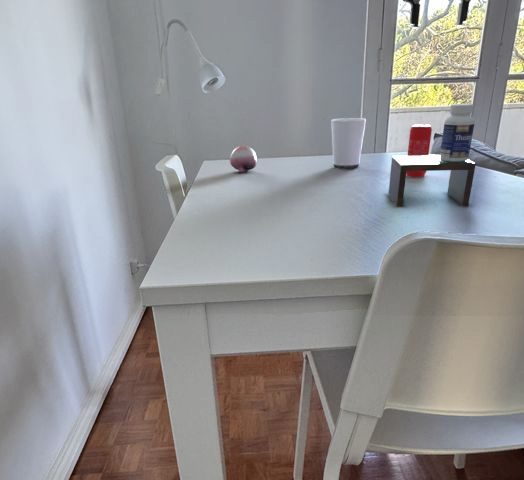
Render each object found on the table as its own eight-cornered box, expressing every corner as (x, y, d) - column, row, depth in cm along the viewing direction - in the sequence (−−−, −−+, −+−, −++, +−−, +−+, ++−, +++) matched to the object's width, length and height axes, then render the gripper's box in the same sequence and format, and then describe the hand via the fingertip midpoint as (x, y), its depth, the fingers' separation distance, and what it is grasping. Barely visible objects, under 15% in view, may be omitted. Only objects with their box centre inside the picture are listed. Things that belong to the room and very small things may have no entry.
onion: (260, 169, 141) (259, 143, 137) (253, 174, 134) (252, 147, 131) (234, 169, 142) (233, 144, 139) (227, 174, 136) (225, 147, 132)
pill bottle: (452, 163, 89) (461, 105, 85) (433, 159, 94) (440, 104, 89) (474, 160, 91) (484, 104, 86) (454, 157, 96) (462, 103, 91)
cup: (369, 166, 140) (372, 118, 133) (350, 170, 134) (353, 121, 127) (341, 163, 146) (344, 117, 139) (322, 167, 140) (323, 120, 133)
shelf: (452, 193, 104) (459, 153, 100) (468, 205, 94) (476, 162, 90) (388, 194, 105) (392, 155, 101) (396, 206, 95) (401, 163, 91)
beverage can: (402, 176, 123) (407, 126, 117) (409, 173, 127) (414, 124, 121) (421, 178, 120) (428, 126, 114) (428, 175, 124) (435, 124, 118)
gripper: (414, -85, 82) (403, 27, 90) (499, -91, 81) (480, 23, 89) (406, -73, 89) (397, 30, 97) (485, -79, 87) (469, 27, 95)
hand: (437, 26), depth 93 cm, fingers open, 8 cm apart
